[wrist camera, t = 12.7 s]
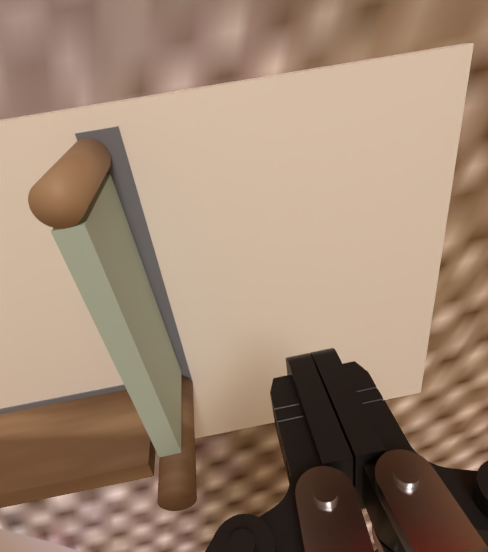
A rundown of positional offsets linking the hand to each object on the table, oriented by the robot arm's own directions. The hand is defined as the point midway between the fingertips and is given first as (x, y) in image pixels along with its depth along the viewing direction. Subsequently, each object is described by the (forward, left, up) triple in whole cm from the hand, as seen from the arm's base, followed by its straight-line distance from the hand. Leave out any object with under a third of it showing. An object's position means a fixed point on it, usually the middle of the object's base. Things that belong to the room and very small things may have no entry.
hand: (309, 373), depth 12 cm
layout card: (-5, +6, -12) cm, 14 cm away
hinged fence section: (-2, +7, -11) cm, 13 cm away
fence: (-11, +14, -11) cm, 21 cm away
